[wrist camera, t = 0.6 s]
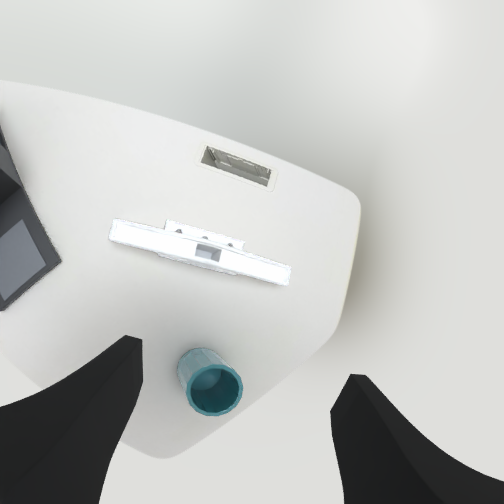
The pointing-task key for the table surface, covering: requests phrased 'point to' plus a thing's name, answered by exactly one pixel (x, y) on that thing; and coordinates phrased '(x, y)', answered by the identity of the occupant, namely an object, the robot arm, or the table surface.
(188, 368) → the cup
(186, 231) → the t-shaped cleat
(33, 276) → the coffee maker
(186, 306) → the table surface
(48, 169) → the table surface
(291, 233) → the table surface
